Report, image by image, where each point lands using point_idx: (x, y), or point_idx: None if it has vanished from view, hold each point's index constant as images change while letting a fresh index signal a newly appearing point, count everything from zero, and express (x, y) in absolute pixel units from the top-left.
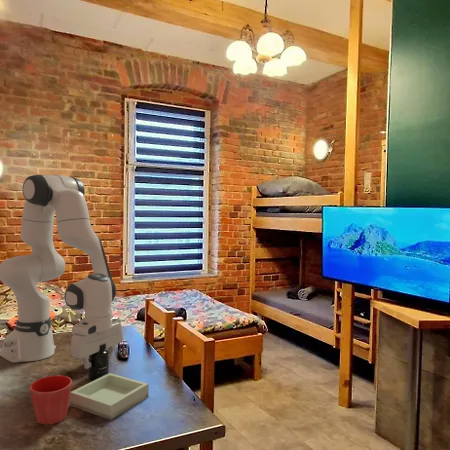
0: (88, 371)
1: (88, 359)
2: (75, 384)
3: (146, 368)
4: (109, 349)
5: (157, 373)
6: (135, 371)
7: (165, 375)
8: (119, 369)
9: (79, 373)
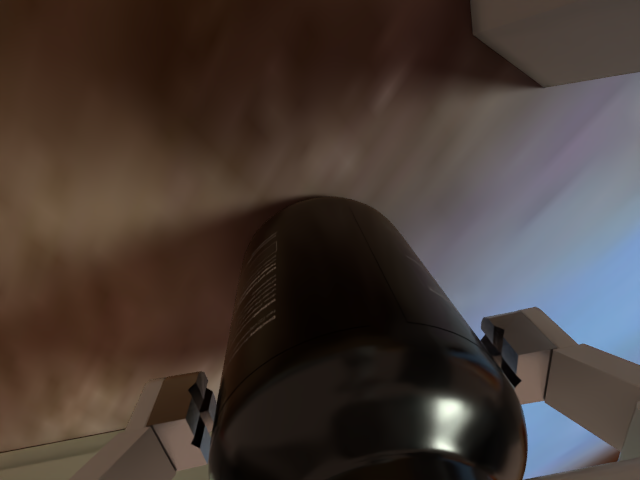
0: (235, 299)
1: (218, 395)
2: (129, 239)
3: (625, 353)
4: (615, 397)
5: (579, 433)
6: None
7: (572, 468)
8: (537, 245)
9: (271, 39)
